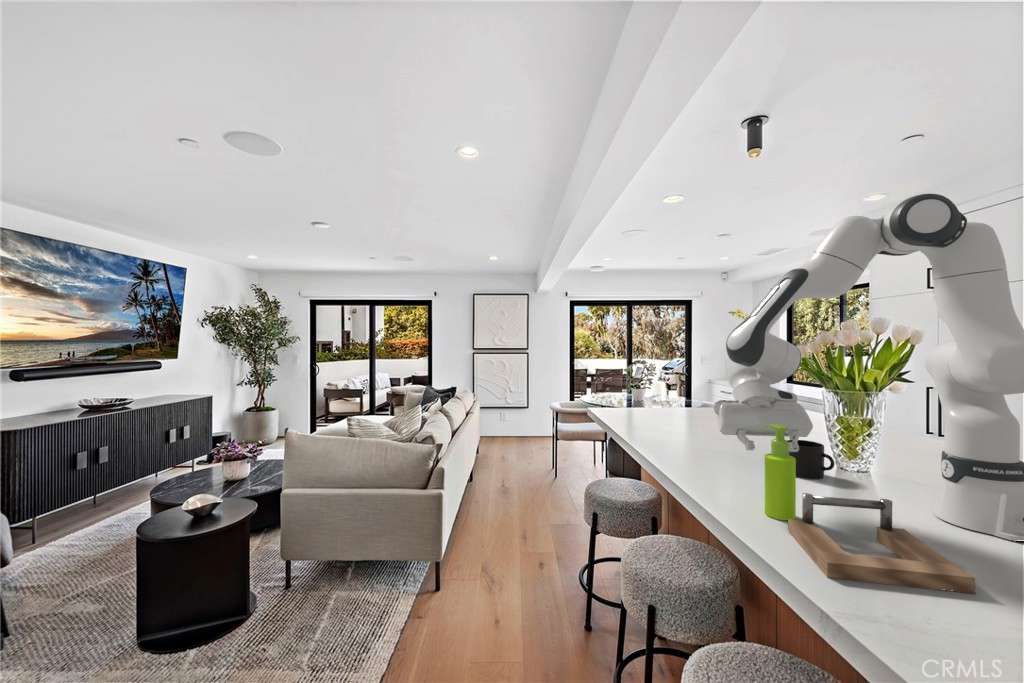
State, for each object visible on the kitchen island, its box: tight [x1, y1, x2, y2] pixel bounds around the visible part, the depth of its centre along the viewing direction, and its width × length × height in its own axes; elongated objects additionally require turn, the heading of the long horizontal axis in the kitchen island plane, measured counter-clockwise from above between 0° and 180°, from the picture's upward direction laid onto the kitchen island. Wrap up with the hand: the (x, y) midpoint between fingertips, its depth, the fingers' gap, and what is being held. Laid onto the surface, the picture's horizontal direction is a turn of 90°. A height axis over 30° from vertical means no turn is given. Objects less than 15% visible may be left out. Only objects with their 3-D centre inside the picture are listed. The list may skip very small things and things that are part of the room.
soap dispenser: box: [764, 424, 797, 521], centre depth 99 cm, size 6×7×20 cm
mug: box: [786, 439, 835, 480], centre depth 127 cm, size 9×12×9 cm
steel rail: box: [801, 492, 893, 531], centre depth 87 cm, size 15×2×6 cm, turn 76°
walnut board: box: [787, 519, 977, 595], centre depth 80 cm, size 20×18×2 cm
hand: (772, 449), depth 102 cm, fingers open, 8 cm apart
